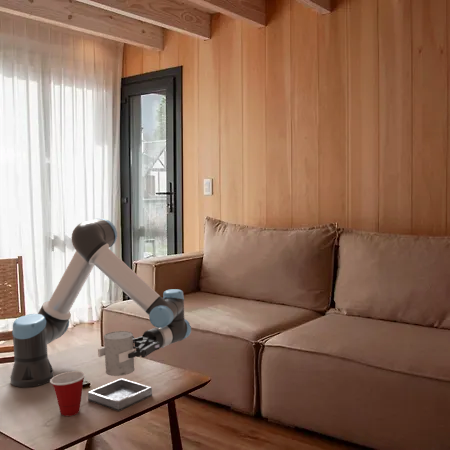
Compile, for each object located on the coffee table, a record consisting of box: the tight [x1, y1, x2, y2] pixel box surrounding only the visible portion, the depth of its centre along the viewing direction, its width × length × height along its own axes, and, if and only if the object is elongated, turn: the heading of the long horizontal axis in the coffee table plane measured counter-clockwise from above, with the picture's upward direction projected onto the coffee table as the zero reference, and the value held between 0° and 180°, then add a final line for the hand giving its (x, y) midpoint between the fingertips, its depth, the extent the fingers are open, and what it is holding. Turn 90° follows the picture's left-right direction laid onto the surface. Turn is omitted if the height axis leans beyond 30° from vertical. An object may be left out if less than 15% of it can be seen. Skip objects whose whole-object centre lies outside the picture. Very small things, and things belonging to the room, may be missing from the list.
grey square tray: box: [87, 377, 153, 412], centre depth 192 cm, size 15×15×3 cm
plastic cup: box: [49, 370, 86, 417], centre depth 181 cm, size 11×11×12 cm
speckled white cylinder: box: [103, 330, 135, 377], centre depth 191 cm, size 10×10×12 cm
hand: (109, 355), depth 187 cm, fingers closed on speckled white cylinder, 9 cm apart
